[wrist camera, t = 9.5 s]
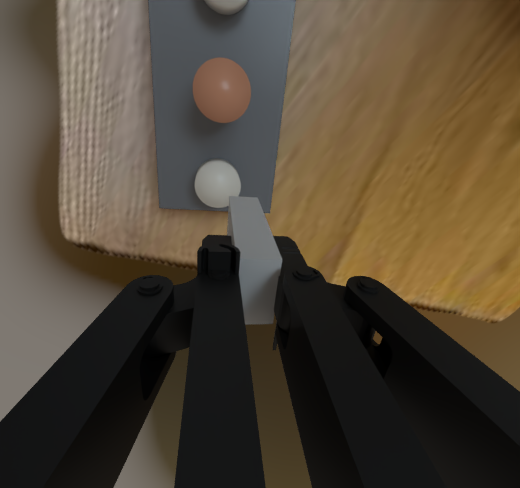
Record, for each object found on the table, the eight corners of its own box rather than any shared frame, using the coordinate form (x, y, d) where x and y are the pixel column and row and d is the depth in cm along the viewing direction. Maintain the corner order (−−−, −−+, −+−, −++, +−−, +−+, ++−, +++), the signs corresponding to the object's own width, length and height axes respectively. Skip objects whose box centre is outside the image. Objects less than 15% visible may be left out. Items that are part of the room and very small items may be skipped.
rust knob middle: (244, 71, 28) (253, 61, 21) (240, 120, 30) (248, 125, 23) (197, 64, 27) (192, 53, 20) (197, 115, 29) (192, 120, 22)
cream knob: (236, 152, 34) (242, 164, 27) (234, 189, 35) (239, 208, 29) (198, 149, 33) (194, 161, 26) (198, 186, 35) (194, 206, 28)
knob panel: (288, -35, 27) (303, -62, 23) (263, 199, 37) (269, 213, 33) (155, -62, 25) (142, -97, 21) (166, 194, 35) (159, 208, 30)
